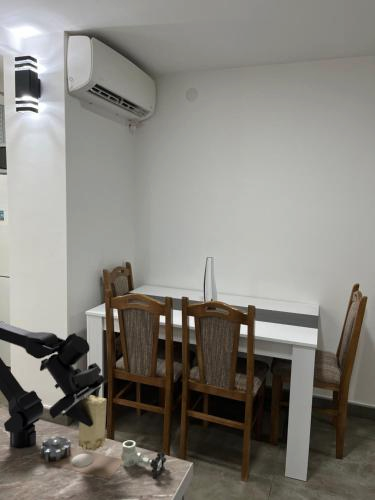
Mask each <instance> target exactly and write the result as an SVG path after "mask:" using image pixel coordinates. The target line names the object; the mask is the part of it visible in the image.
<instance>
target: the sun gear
mask: <svg viewBox="0 0 375 500" xmlns="http://www.w3.org/2000/svg"><path fill="white" fill-rule="evenodd" d="M41 443H42V445H41V446H40V447H39V449H40V451H39V454H40V458H41V459H42V458H43V459H44V460H45V462H47V463H49V462H55V461H56V463H57V462H60V460H62V459H64V458H68V457H69V452H70V451H71V448H72V447H71V445H72V443H71V439H67V437H66V436H60V437H56V436H51V438H49V439H47V440H45V439H44V440H43V441H42V442H41ZM47 463H46V464H47Z"/></svg>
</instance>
